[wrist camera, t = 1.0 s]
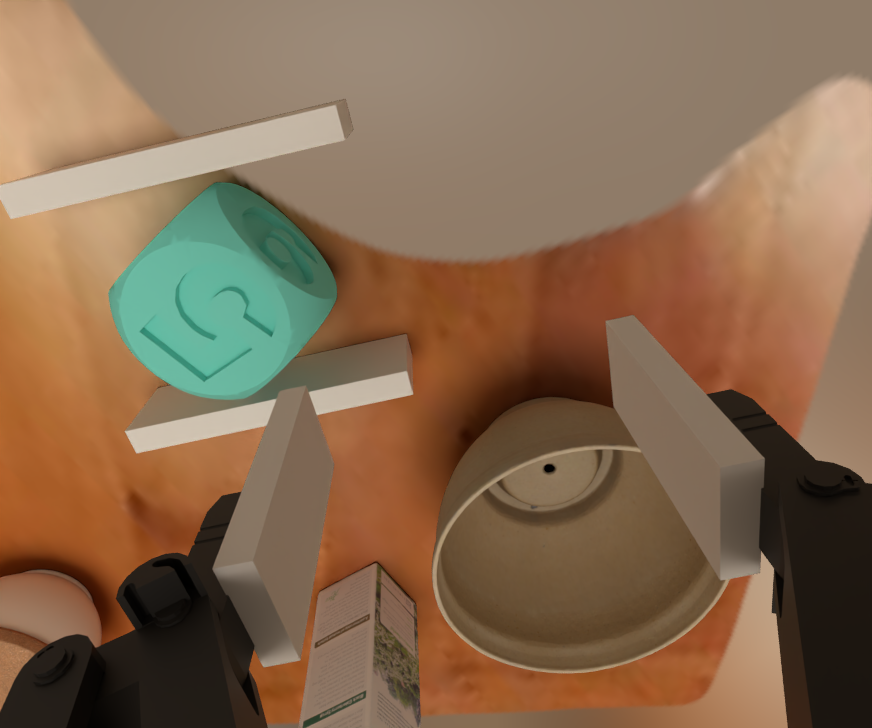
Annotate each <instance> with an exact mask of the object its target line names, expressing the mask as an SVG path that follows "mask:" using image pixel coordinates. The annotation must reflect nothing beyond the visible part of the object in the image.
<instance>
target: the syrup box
mask: <svg viewBox="0 0 872 728" xmlns="http://www.w3.org/2000/svg"><path fill="white" fill-rule="evenodd" d="M299 728H421V715H420V689H419V659H418V632H417V607H416V604H415V603H414V602H413V601H412V599H411V598H410V597H409V596H408V595H407V594H406V593H405V592H404V591H403V590H402V589H401V588H400V587H399V586H398V585H397V584H396V582H395V581H394V580H393V579H392V578H391V577H390V576H389V575H388V574H387V573H386V572H385V571H384V569H383V568H382V567H381V566H380V565H379V564H378V563H374V564H372V565H370V566H368V567H366V568H364V569H362V570H360V571H358V572H356V573H354V574H352V575H350V576H348V577H346V578H344V579H342V580H341V581H339V582H337V583H335V584H333V585H331V586H329V587H327V588H326V589H324V590H322V591H320V592H319V594H318V600H317V607H316V615H315V622H314V629H313V636H312V643H311V650H310V656H309V663H308V670H307V677H306V683H305V690H304V696H303V703H302V709H301V716H300V722H299Z"/></svg>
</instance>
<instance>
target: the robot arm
mask: <svg viewBox="0 0 872 728" xmlns="http://www.w3.org/2000/svg"><path fill="white" fill-rule="evenodd" d="M606 331H607V342H608V352H609V363H610V374H611V385H612V395H613V406H614V408H615V409H616V411H617V413H618V414H619V416H620V418H621V419H622V421H623V423H624V424H625V426H626V427H627V429H628V431H629V432H630V434H631V436H632V437H633V439H634V441H635V442H636V444H637V445H638V447H639V449H640V450H641V452H642V454H643V455H644V457H645V458H646V460H647V462H648V463H649V465H650V467H651V468H652V470H653V472H654V473H655V475H656V476H657V478H658V480H659V481H660V483H661V485H662V486H663V488H664V489H665V491H666V493H667V494H668V496H669V498H670V499H671V501H672V503H673V504H674V506H675V507H676V509H677V511H678V512H679V514H680V516H681V517H682V519H683V521H684V522H685V524H686V525H687V527H688V529H689V530H690V532H691V534H692V535H693V537H694V538H695V540H696V542H697V543H698V545H699V547H700V548H701V550H702V552H703V553H704V555H705V556H706V558H707V560H708V561H709V563H710V565H711V566H712V568H713V570H714V571H715V573H716V574H717V576H718V578H719V579H720V581H721V580H726V579H731V578H737V577H742V576H747V575H752V574H758V573H760V562H761V551H762V553H763V554H764V555H765V556H766V558H767V559H768V561H769V562H770V563H771V565H772V566H773V567H774V582H773V599H772V613H776V616H777V626H778V635H779V644H780V654H781V665H782V674H783V684H784V694H785V703H786V714H787V723H788V728H872V484H868V483H865V482H864V481H863V479H862V477H860V476H859V475H858V474H856V473H855V472H853V471H852V470H850V469H848V468H846V467H843V466H840V465H838V464H835V463H830V462H824V461H817V460H815V459H814V458H813V457H812V456H811V455H810V454H809V453H808V452H807V451H806V450H805V449H804V448H803V447H802V446H801V445H800V444H799V443H798V442H797V441H796V440H795V439H794V438H793V437H791V436H790V435H789V434H788V433H787V432H786V431H785V430H784V429H783V428H782V427H781V426H780V425H777V422H776V421H775V420H774V419H773V418H772V417H771V416H770V415H769V414H768V415H767V414H766V412H765V411H764V410H763V409H762V408H761V407H760V406H759V405H758V404H757V403H756V402H755V401H754V400H753V399H752V398H749V397H747V396H745V395H743V394H741V393H738V392H736V391H734V390H732V389H730V390H726V391H721V392H716V393H711V394H705V393H704V392H703V390H702V389H701V388H700V387H699V386H698V385H697V384H696V383H695V382H694V381H693V380H692V378H691V377H690V376H689V375H688V374H687V373H686V372H685V371H684V370H683V369H682V368H681V366H680V365H679V364H678V363H677V362H676V361H675V360H674V359H673V358H672V357H671V355H670V354H669V353H668V352H667V351H666V350H665V349H664V348H663V347H662V346H661V345H660V343H659V342H658V341H657V340H656V339H655V338H654V337H653V336H652V335H651V334H650V333H649V331H648V330H647V329H646V328H645V327H644V326H643V325H642V324H641V323H640V322H639V320H638V319H637V318H636V317H635V316H634V315H632V316H627V317H622V318H618V319H613V320H608V321H606ZM333 469H334V462H333V459H332V456H331V453H330V451H329V448H328V445H327V442H326V439H325V437H324V434H323V431H322V428H321V425H320V423H319V420H318V417H317V414H316V411H315V409H314V406H313V403H312V400H311V397H310V395H309V392H308V389H307V386H306V385H305V386H300V387H296V388H291V389H286V390H282V391H280V392H279V394H278V397H277V399H276V402H275V405H274V407H273V410H272V413H271V415H270V418H269V421H268V423H267V426H266V428H265V431H264V434H263V436H262V439H261V442H260V444H259V447H258V450H257V452H256V455H255V458H254V460H253V463H252V465H251V468H250V471H249V473H248V476H247V479H246V481H245V484H244V487H243V489H242V492H238V493H233V494H228V495H223V496H221V497H220V499H219V500H218V501H217V502H216V503H215V504H214V505H213V506H212V507H211V508H210V510H209V511H208V512H207V514H206V516H205V518H204V521H203V523H202V525H201V528H200V532H198V534H197V537H196V539H195V541H194V543H195V545H193V546H192V548H191V550H190V553H189V555H188V557H187V556H186V555H183V554H180V553H170V554H164V555H161V556H158V557H155V558H153V559H151V560H149V561H147V562H146V563H144V564H142V565H141V566H139V567H138V568H137V569H135V570H134V571H133V572H132V573H131V574H130V575H129V576H127V578H126V579H125V580H124V582H123V583H122V585H121V586H120V587H119V590H118V593H117V597H116V599H117V601H118V602H119V604H120V606H121V607H122V609H123V610H124V612H125V613H126V615H127V617H128V618H129V620H130V621H131V623H132V624H133V626H134V627H135V630H133V631H132V632H130V633H128V634H125V635H123V636H121V637H119V638H116V639H114V640H112V641H110V642H108V643H105V644H103V645H101V646H99V647H96V648H95V646H94V645H93V643H92V642H91V640H90V639H89V637H88V636H85V635H81V634H75V635H70V636H65V637H63V638H60V639H58V640H56V641H54V642H52V643H50V644H48V645H47V646H45V647H44V648H42V649H41V650H40V651H39V652H37V653H36V654H35V655H34V656H33V657H32V658H31V659H30V660H29V661H28V662H27V663H26V664H25V665H24V666H23V667H22V669H21V670H20V672H19V673H18V675H17V677H16V678H15V680H14V682H13V684H12V686H11V689H10V691H9V693H8V695H7V698H6V700H5V702H4V704H3V706H2V709H1V711H0V728H268V727H267V723H266V719H265V715H264V712H263V708H262V704H261V700H260V697H259V693H258V689H257V685H256V682H255V680H254V678H253V676H252V675H251V673H250V671H249V666H250V662H251V658H252V655H253V651H254V650H255V652H256V654H257V656H258V658H259V659H260V661H261V663H262V665H263V667H268V666H273V665H279V664H284V663H289V662H294V661H300V659H301V653H302V648H303V642H304V636H305V630H306V624H307V619H308V613H309V607H310V601H311V596H312V590H313V584H314V578H315V573H316V567H317V561H318V555H319V549H320V544H321V538H322V532H323V526H324V521H325V515H326V509H327V503H328V498H329V492H330V486H331V480H332V474H333Z"/></svg>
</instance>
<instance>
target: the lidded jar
mask: <svg viewBox="0 0 872 728" xmlns="http://www.w3.org/2000/svg"><path fill="white" fill-rule="evenodd" d="M75 634H81V635H85V636H88V637H89V639H90V640H91V642H92V643H93V645H94V646H95V648H96V647H99V646H101V640H102V627H101V622H100V618H99V614H98V612H97V610H96V608H95V606H94V604H93V599H92V596H91V594H90V592H89V591H88V590H87V588H86V587H85V586H84V585H83V584H81V583H80V582H79V581H78V580H76V579H74V578H73V577H71V576H68V575H66V574H64V573H61V572H57V571H53V570H45V569H37V570H30V571H26V572H23V573H20V574H13V575H8V576H4V577H1V578H0V711H1V709H2V706H3V704H4V702H5V700H6V698H7V695H8V693H9V691H10V689H11V686H12V684H13V682H14V680H15V678H16V677H17V675H18V673H19V672H20V670H21V669H22V667H23V666H24V665H25V664H26V663H27V662H28V661H29V660H30V659H31V658H32V657H33V656H34V655H35V654H36V653H37V652H39V651H40V650H41V649H42V648H44V647H45V646H47V645H48V644H50V643H52V642H54V641H56V640H58V639H60V638H63V637H65V636H70V635H75Z"/></svg>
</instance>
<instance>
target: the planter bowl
mask: <svg viewBox="0 0 872 728" xmlns="http://www.w3.org/2000/svg"><path fill="white" fill-rule="evenodd" d="M546 464H552V465H553V466H554V467H555V469H554V471H552V472H549V473H548V472H546V471H545V470H544V466H545V465H546ZM729 580H730V579H726V580H721V581H720V579H719V578H718V576H717V574H716V573H715V571H714V570H713V568H712V566H711V565H710V563H709V561H708V560H707V558H706V556H705V555H704V553H703V552H702V550H701V548H700V547H699V545H698V543H697V542H696V540H695V538H694V537H693V535H692V534H691V532H690V530H689V529H688V527H687V525H686V524H685V522H684V521H683V519H682V517H681V516H680V514H679V512H678V511H677V509H676V507H675V506H674V504H673V503H672V501H671V499H670V498H669V496H668V494H667V493H666V491H665V489H664V488H663V486H662V485H661V483H660V481H659V480H658V478H657V476H656V475H655V473H654V472H653V470H652V468H651V467H650V465H649V463H648V462H647V460H646V458H645V457H644V455H643V454H642V452H641V450H640V449H639V447H638V445H637V444H636V442H635V441H634V439H633V437H632V436H631V434H630V432H629V431H628V429H627V427H626V426H625V424H624V423H623V421H622V419H621V418H620V416H619V414H618V413H617V411H616V409H613V408H610V407H607V406H604V405H600V404H596V403H591V402H583V401H576V400H573V399H568V398H560V397H545V398H537V399H533V400H530V401H526V402H523V403H521V404H518V405H516V406H514V407H512V408H510V409H509V410H507V411H506V412H504V413H503V414H501V415H500V416H499V417H498V418H497V419H496V420H495V421H494V422H493V423H492V424H491V425H490V426H489V427H488V429H487V430H486V431H485V432H484V433H483V434H482V435H481V436H480V437H478V438H477V439H476V440H475V442H474V443H473V444H472V445H471V446H470V447H469V449H468V450H467V451H466V453H465V454H464V455H463V457H462V458H461V460H460V461H459V463H458V465H457V466H456V468H455V470H454V472H453V474H452V476H451V478H450V480H449V483H448V485H447V488H446V491H445V493H444V496H443V500H442V504H441V508H440V512H439V518H438V524H437V533H436V543H435V547H434V552H433V560H432V582H433V589H434V594H435V598H436V601H437V604H438V606H439V609H440V611H441V613H442V615H443V617H444V618H445V620H446V621H447V623H448V624H449V625H450V627H451V628H452V629H453V630H454V631H455V633H456V634H458V635H459V636H460V637H461V638H462V639H463V640H464V641H465V642H467V643H468V644H469V645H470V646H472V647H473V648H474V649H476V650H477V651H479V652H481V653H482V654H484V655H486V656H488V657H490V658H493V659H495V660H497V661H500V662H502V663H505V664H508V665H512V666H516V667H519V668H523V669H528V670H534V671H541V672H549V673H583V672H592V671H598V670H602V669H607V668H612V667H615V666H619V665H623V664H626V663H630V662H632V661H635V660H638V659H640V658H643V657H645V656H647V655H650V654H652V653H654V652H656V651H658V650H660V649H662V648H664V647H666V646H667V645H669V644H671V643H673V642H674V641H676V640H677V639H679V638H680V637H682V636H683V635H684V634H686V633H687V632H688V631H690V630H691V629H692V628H693V627H694V626H695V625H697V624H698V623H699V622H700V621H701V620H702V619H703V618H704V617H705V615H706V614H707V613H708V612H709V611H710V610H711V608H712V607H713V606H714V605H715V604H716V602H717V601H718V599H719V598H720V596H721V595H722V593H723V591H724V590H725V588H726V586H727V584H728V582H729Z"/></svg>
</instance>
